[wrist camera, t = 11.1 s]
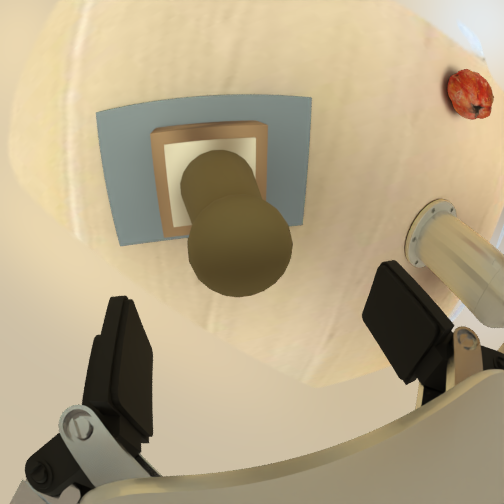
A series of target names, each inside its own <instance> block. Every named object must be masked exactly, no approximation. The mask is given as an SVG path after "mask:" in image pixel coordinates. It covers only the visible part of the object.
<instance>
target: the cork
mask: <svg viewBox="0 0 504 504" xmlns="http://www.w3.org/2000/svg"><path fill="white" fill-rule="evenodd" d="M180 189H181V196H182V199H183V202H184V204H185V207H186V210H187V212H188V215H189V218H190V220H191V223H192V226H191V230H190V234H189V237H188V255H189V262H190V264H191V266H192V268H193V270H194V272H195V273H196V275H197V277H198V279H199V280H200V281H201V282H202V283H203V284H205V285H206V286H207V287H208V288H209V289H211V290H213V291H215V292H218V293H220V294H222V295H225V296H232V297H244V296H251V295H254V294H257V293H259V292H262V291H264V290H266V289H267V288H269V287H270V286H272V285H273V284H275V283H276V282H277V280H278V279H279V278H280V277H281V276H282V275H283V274H284V272H285V270H286V268H287V266H288V264H289V261H290V259H291V253H292V246H293V243H292V238H291V234H290V230H289V226H288V224H287V222H286V221H285V219H284V218H283V216H282V215H281V213H280V212H279V211H278V210H277V208H275V207H274V206H272V205H271V204H269V203H268V202H267V201H265V200H263V199H262V197H261V194H260V191H259V188H258V185H257V182H256V179H255V177H254V174H253V171H252V168H251V167H250V166H249V164H248V163H247V162H246V160H245V159H244V158H242V157H241V156H239V155H238V154H236V153H234V152H230V151H227V150H211V151H208V152H206V153H203V154H200V155H199V156H197V157H196V158H195V159H194V160H192V161H191V162H190V163H189V164H188V166H187V167H186V169H185V170H184V172H183V175H182V179H181V182H180Z"/></svg>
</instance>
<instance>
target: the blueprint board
mask: <svg viewBox="0 0 504 504" xmlns="http://www.w3.org/2000/svg"><path fill="white" fill-rule="evenodd" d="M311 104H312V98H311V97H299V96H284V95H213V96H198V97H186V98H176V99H168V100H160V101H153V102H146V103H140V104H134V105H129V106H124V107H119V108H114V109H109V110H105V111H101V112H97V113H96V119H97V129H98V137H99V145H100V152H101V159H102V165H103V171H104V177H105V182H106V188H107V193H108V198H109V202H110V207H111V211H112V216H113V220H114V224H115V228H116V232H117V236H118V240H119V244H120V246H126V245H133V244H141V243H148V242H156V241H164V240H172V239H180V238H188V237H189V235H183V236H175V237H167V238H164V235H163V229H162V223H161V217H160V211H159V204H158V198H157V191H156V183H155V175H154V167H153V158H152V149H151V138H150V133H151V132H152V131H153V130H154V129H155V128H159V127H167V126H175V125H184V124H194V123H206V122H222V121H248V120H256V121H259V122H261V123H264V124H267V125H268V147H267V188H266V201H267V202H268V203H269V204H271V205H272V206H274V207H275V208H277V210H278V211H279V212H280V213H281V215H282V216H283V218H284V219H285V221H286V222H287V224H288V226H297V225H302V224H303V215H304V204H305V194H306V182H307V170H308V156H309V141H310V124H311Z"/></svg>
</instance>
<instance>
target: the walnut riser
mask: <svg viewBox="0 0 504 504" xmlns="http://www.w3.org/2000/svg"><path fill="white" fill-rule="evenodd" d="M150 138H151V149H152V158H153V167H154V175H155V183H156V191H157V198H158V204H159V211H160V217H161V223H162V229H163V235H164V238H167V237H175V236H183V235H189V234H190V230H191V226H192V223H191V220H190V218H189V215H188V212H187V210H186V207H185V204H184V202H183V199H182V196H181V189H180V182H181V179H182V175H183V172H184V170H185V169H186V167H187V166H188V164H189V163H190V162H191V161H192V160H194V159H195V158H196V157H197V156H199V155H200V154H203V153H206V152H208V151H211V150H227V151H230V152H234V153H236V154H238V155H239V156H241V157H242V158H244V159H245V160H246V162H247V163H248V164H249V166H250V167H251V168H252V171H253V174H254V177H255V179H256V182H257V185H258V188H259V191H260V194H261V197H262V199H263V200H265V201H266V188H267V147H268V125H267V124H264V123H261V122H259V121H256V120H248V121H222V122H206V123H194V124H184V125H175V126H167V127H159V128H155V129H154V130H153V131H152V132H151V133H150Z"/></svg>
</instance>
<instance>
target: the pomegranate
mask: <svg viewBox="0 0 504 504" xmlns="http://www.w3.org/2000/svg"><path fill="white" fill-rule="evenodd" d="M447 91H448V95H449V97H450V99H451V101H452V104H453V107H454V109H455V110H456V112H457V113H459V114H460V115H461V116H462V117H464V118H467V119H476V118H480V119H483V118H486V117H488V116H489V115H490V113H491V106H492V103H493V98H494V96H493V94H492V90H491V87H490V85H489V84H488V82H487V80H486V79H484V78H483V77H482V76H481V75H480V74H479V73H476V72H472V71H470V70H468V69H464V70H460V71H459V72H458V73H456V74H454V75H452V76H450V79H449V81H448V88H447Z"/></svg>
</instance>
